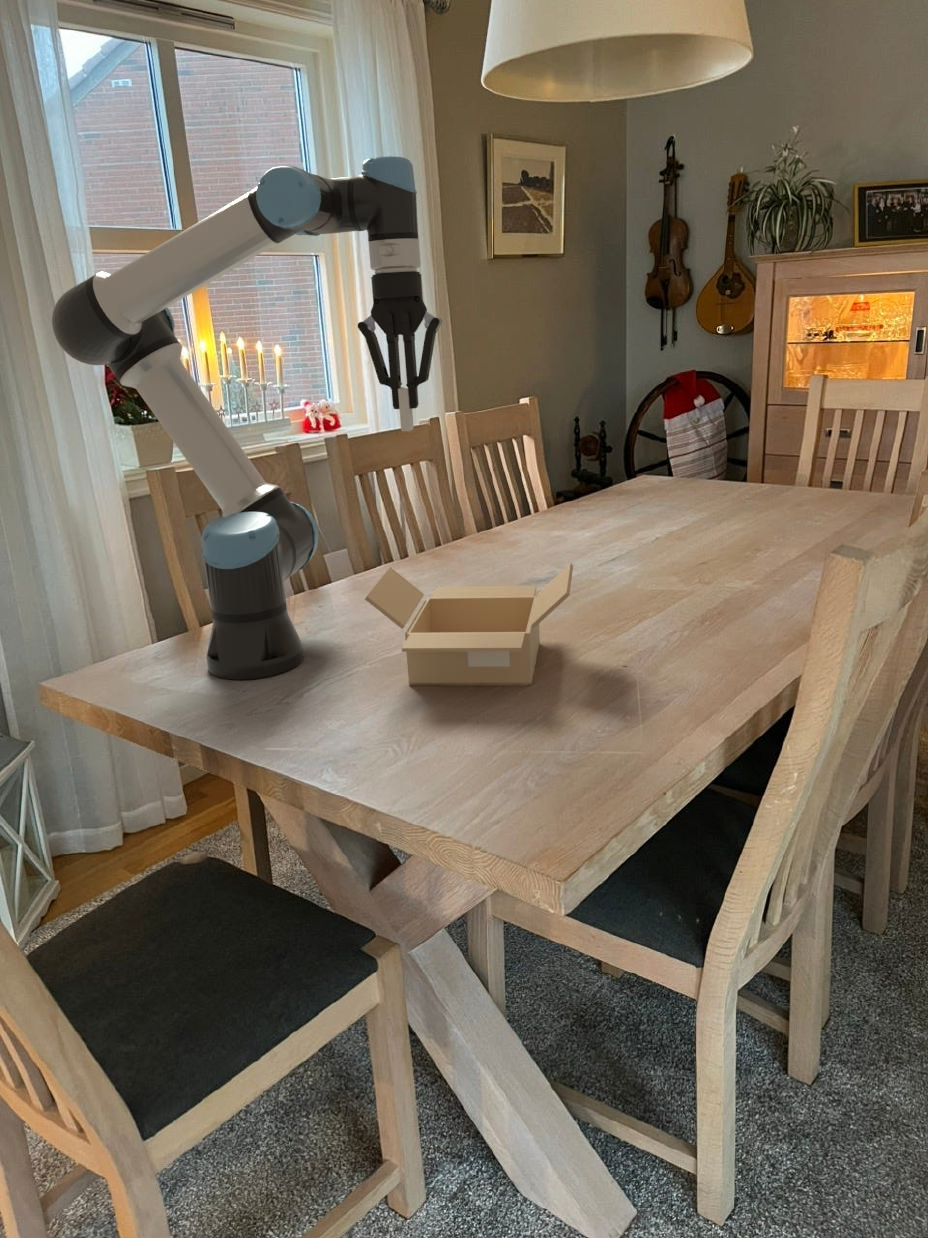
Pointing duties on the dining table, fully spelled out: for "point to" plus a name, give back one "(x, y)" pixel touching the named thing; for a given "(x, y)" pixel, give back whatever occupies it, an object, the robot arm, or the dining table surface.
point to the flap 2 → (552, 595)
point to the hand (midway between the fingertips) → (407, 429)
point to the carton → (474, 637)
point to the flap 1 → (395, 597)
